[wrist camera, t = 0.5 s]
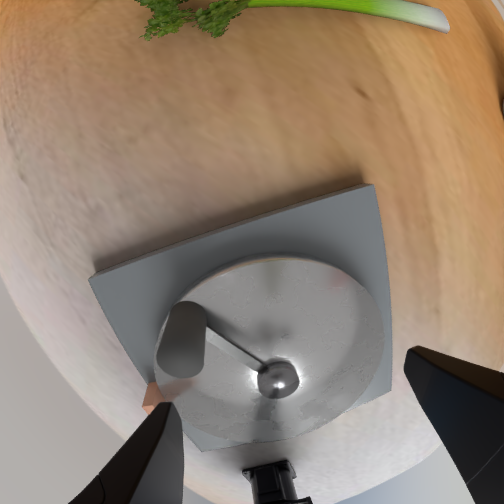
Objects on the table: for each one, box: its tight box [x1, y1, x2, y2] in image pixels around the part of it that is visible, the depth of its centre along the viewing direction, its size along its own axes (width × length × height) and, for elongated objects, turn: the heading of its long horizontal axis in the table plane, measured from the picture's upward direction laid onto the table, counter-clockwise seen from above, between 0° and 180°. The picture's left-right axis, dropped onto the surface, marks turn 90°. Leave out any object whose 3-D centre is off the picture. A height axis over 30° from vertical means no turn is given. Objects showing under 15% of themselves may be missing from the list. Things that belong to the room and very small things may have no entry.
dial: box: [154, 252, 385, 442], centre depth 17 cm, size 18×18×6 cm
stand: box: [88, 183, 392, 452], centre depth 20 cm, size 22×22×4 cm
